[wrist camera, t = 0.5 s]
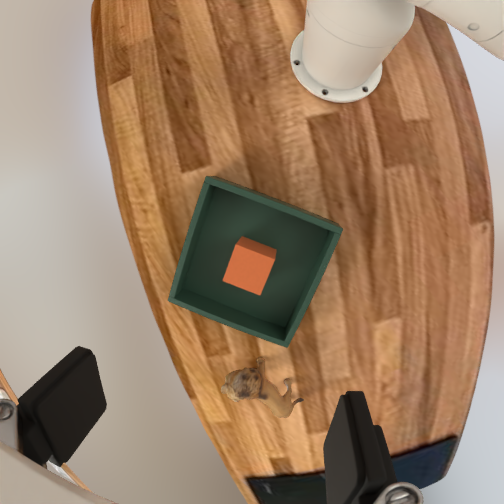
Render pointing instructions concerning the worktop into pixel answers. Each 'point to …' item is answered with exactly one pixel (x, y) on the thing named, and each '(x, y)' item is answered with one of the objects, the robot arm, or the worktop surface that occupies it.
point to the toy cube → (250, 265)
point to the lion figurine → (259, 389)
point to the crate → (265, 232)
